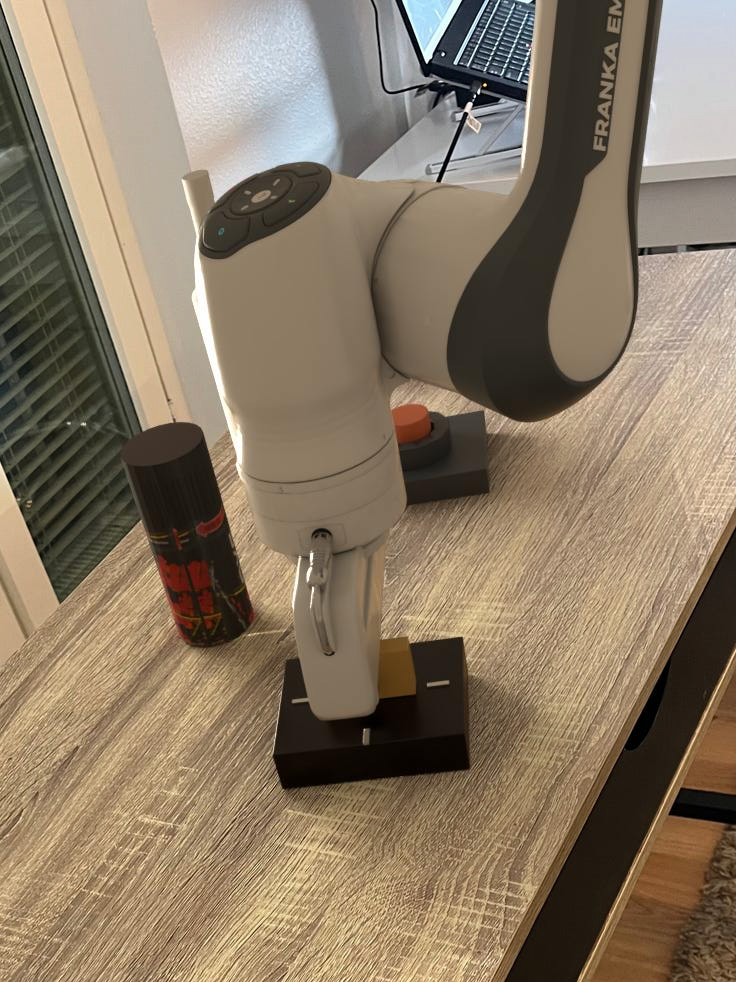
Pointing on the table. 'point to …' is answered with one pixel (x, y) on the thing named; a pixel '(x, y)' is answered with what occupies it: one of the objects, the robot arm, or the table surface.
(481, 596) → the table surface
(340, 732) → the black flat block
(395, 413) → the bell button
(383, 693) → the lock knob
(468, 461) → the bell box
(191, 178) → the bottle
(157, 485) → the deodorant
